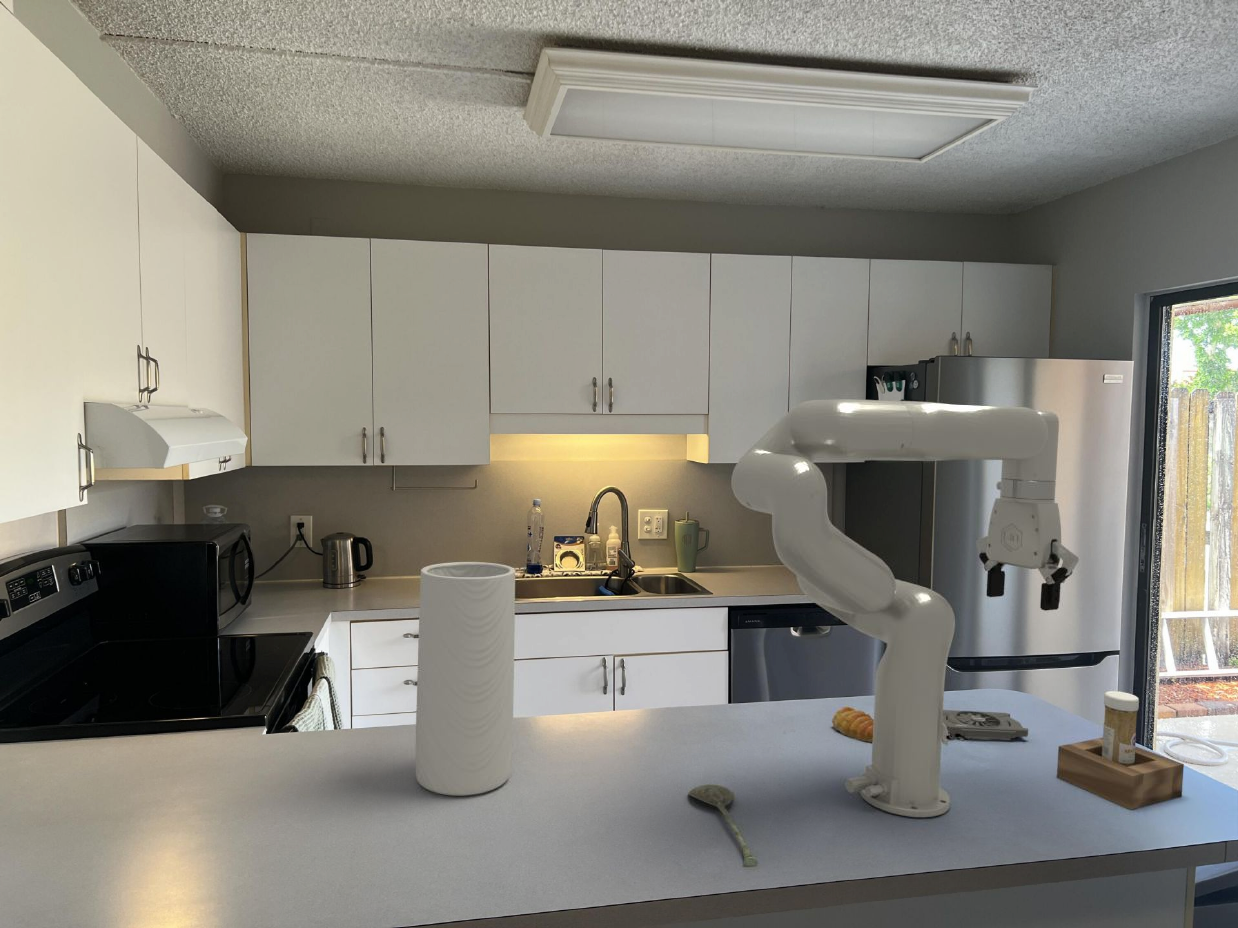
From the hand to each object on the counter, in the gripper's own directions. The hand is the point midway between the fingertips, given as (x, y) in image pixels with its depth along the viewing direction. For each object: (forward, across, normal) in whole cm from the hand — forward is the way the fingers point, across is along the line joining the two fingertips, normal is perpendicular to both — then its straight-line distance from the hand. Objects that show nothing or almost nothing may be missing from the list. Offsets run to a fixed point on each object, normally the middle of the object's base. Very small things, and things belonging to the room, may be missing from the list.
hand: (1021, 602), depth 129 cm
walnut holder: (+28, +7, +15) cm, 33 cm away
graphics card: (+29, -18, +12) cm, 36 cm away
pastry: (+29, -26, -8) cm, 40 cm away
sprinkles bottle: (+28, +7, +15) cm, 32 cm away
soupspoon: (+29, -5, -49) cm, 57 cm away
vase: (+28, -32, -78) cm, 89 cm away
